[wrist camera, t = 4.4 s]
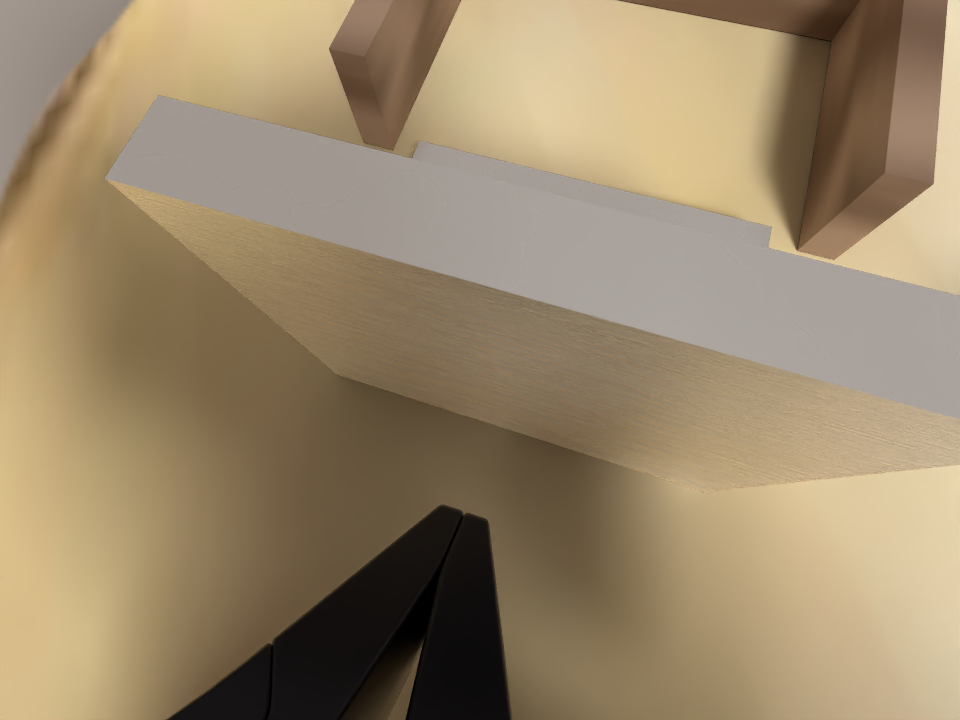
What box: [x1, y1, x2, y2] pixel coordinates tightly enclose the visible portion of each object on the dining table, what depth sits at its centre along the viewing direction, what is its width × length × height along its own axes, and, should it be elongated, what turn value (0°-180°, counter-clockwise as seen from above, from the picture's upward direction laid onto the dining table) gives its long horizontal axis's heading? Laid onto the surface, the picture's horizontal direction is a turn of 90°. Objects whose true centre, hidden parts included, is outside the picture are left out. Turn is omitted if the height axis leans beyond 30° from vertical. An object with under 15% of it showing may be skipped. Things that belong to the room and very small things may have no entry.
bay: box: [329, 0, 948, 260], centre depth 17 cm, size 11×17×4 cm, turn 72°
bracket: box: [105, 95, 960, 492], centre depth 12 cm, size 8×12×10 cm
